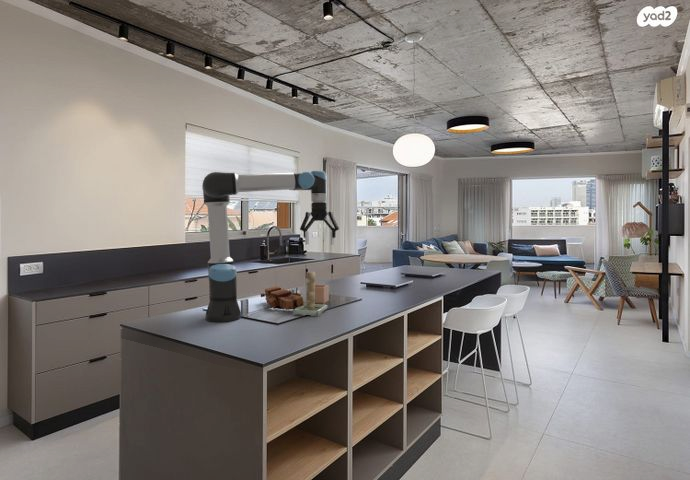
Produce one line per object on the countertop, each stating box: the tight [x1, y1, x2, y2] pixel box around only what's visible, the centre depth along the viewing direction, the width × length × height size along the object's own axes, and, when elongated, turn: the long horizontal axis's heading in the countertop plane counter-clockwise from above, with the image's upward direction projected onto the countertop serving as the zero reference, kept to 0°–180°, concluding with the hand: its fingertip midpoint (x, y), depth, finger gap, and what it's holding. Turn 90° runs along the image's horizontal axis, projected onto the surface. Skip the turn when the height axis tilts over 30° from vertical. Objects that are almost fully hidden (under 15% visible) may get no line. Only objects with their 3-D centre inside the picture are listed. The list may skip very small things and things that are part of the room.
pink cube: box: [315, 284, 330, 304], centre depth 221 cm, size 8×8×9 cm
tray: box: [292, 303, 329, 317], centre depth 201 cm, size 12×14×2 cm
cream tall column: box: [305, 271, 316, 311], centre depth 201 cm, size 4×4×18 cm
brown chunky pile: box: [260, 285, 305, 311], centre depth 213 cm, size 17×9×30 cm
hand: (319, 244), depth 215 cm, fingers open, 13 cm apart
